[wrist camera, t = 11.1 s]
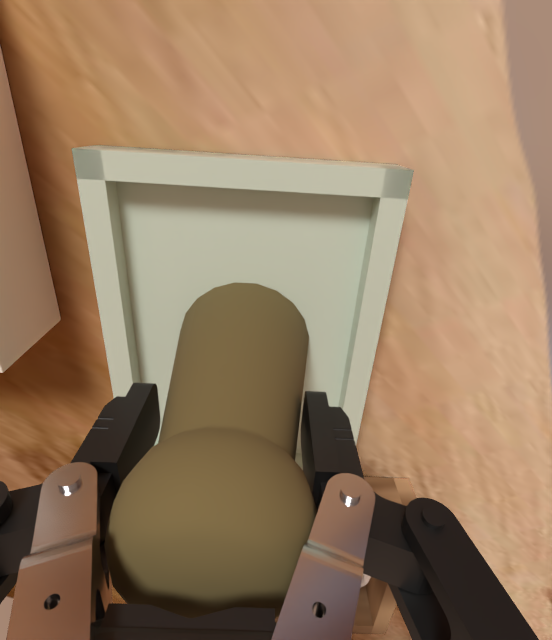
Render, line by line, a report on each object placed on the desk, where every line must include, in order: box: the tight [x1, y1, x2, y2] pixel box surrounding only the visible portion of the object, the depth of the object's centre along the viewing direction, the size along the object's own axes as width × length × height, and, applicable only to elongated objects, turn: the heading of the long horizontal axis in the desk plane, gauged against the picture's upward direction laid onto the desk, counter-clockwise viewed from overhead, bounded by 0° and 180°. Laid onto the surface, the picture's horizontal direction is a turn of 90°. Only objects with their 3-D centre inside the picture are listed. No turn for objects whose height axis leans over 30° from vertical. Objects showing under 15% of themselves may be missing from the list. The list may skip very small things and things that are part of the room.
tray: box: [72, 145, 414, 470], centre depth 18 cm, size 16×12×2 cm
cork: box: [104, 282, 317, 619], centre depth 13 cm, size 6×6×11 cm
